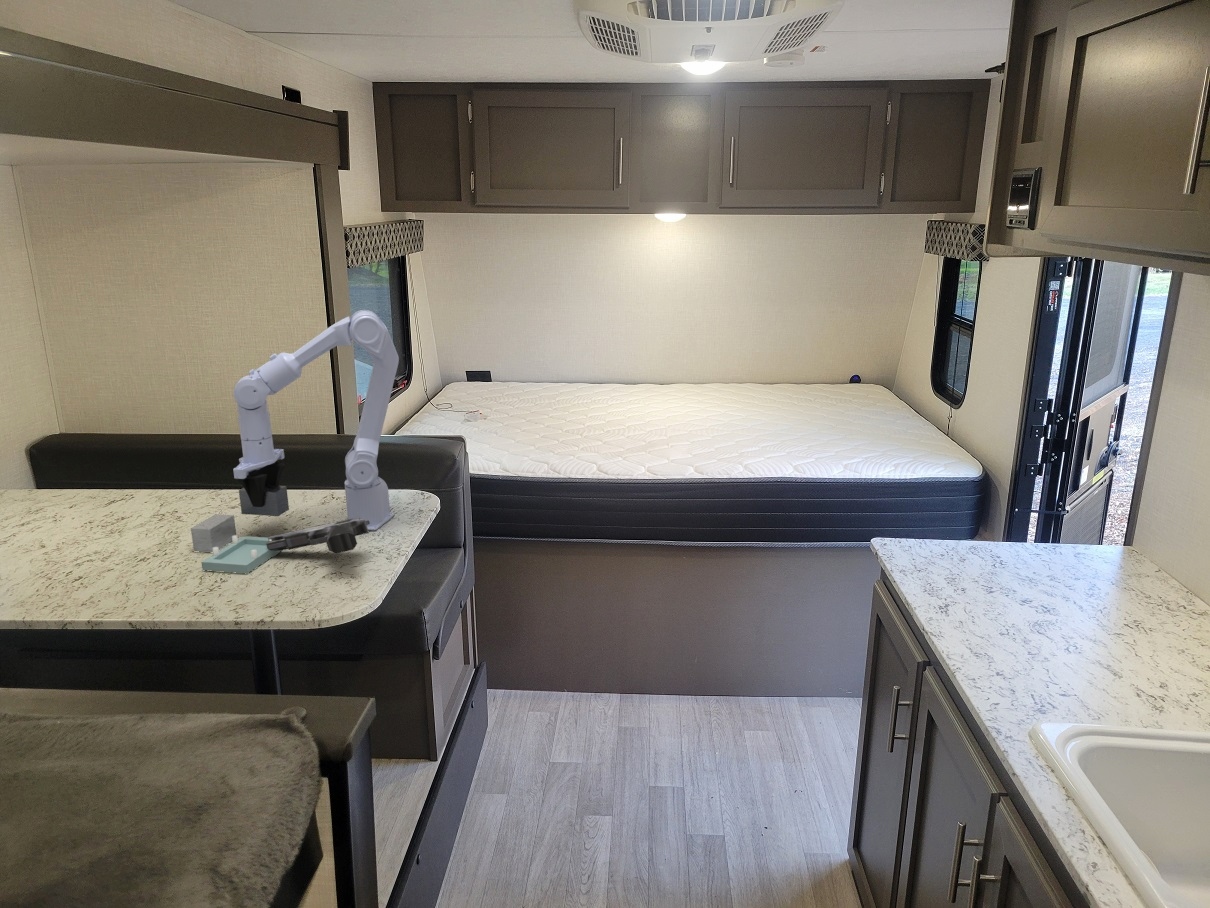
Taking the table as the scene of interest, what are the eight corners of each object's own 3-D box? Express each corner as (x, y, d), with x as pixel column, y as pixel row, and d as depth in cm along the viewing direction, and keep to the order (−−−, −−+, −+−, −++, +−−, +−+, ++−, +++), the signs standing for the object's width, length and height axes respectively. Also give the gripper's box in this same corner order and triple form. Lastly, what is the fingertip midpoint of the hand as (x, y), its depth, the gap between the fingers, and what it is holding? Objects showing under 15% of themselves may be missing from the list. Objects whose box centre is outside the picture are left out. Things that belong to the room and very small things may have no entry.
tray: (244, 544, 165) (242, 529, 164) (286, 547, 164) (284, 532, 163) (202, 571, 153) (200, 554, 152) (247, 574, 151) (245, 557, 151)
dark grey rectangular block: (241, 513, 168) (238, 490, 167) (253, 507, 172) (250, 484, 171) (278, 516, 167) (275, 492, 166) (289, 509, 171) (286, 486, 169)
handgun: (351, 532, 147) (372, 511, 159) (242, 556, 149) (270, 534, 161) (357, 549, 148) (377, 527, 160) (247, 572, 150) (276, 549, 162)
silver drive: (218, 537, 169) (215, 514, 168) (237, 538, 169) (233, 515, 168) (194, 552, 162) (190, 528, 160) (213, 553, 161) (209, 529, 160)
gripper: (258, 427, 173) (266, 490, 176) (215, 446, 159) (224, 513, 163) (290, 428, 172) (297, 492, 175) (249, 447, 158) (258, 515, 162)
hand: (264, 502), depth 169 cm, fingers closed on dark grey rectangular block, 4 cm apart
